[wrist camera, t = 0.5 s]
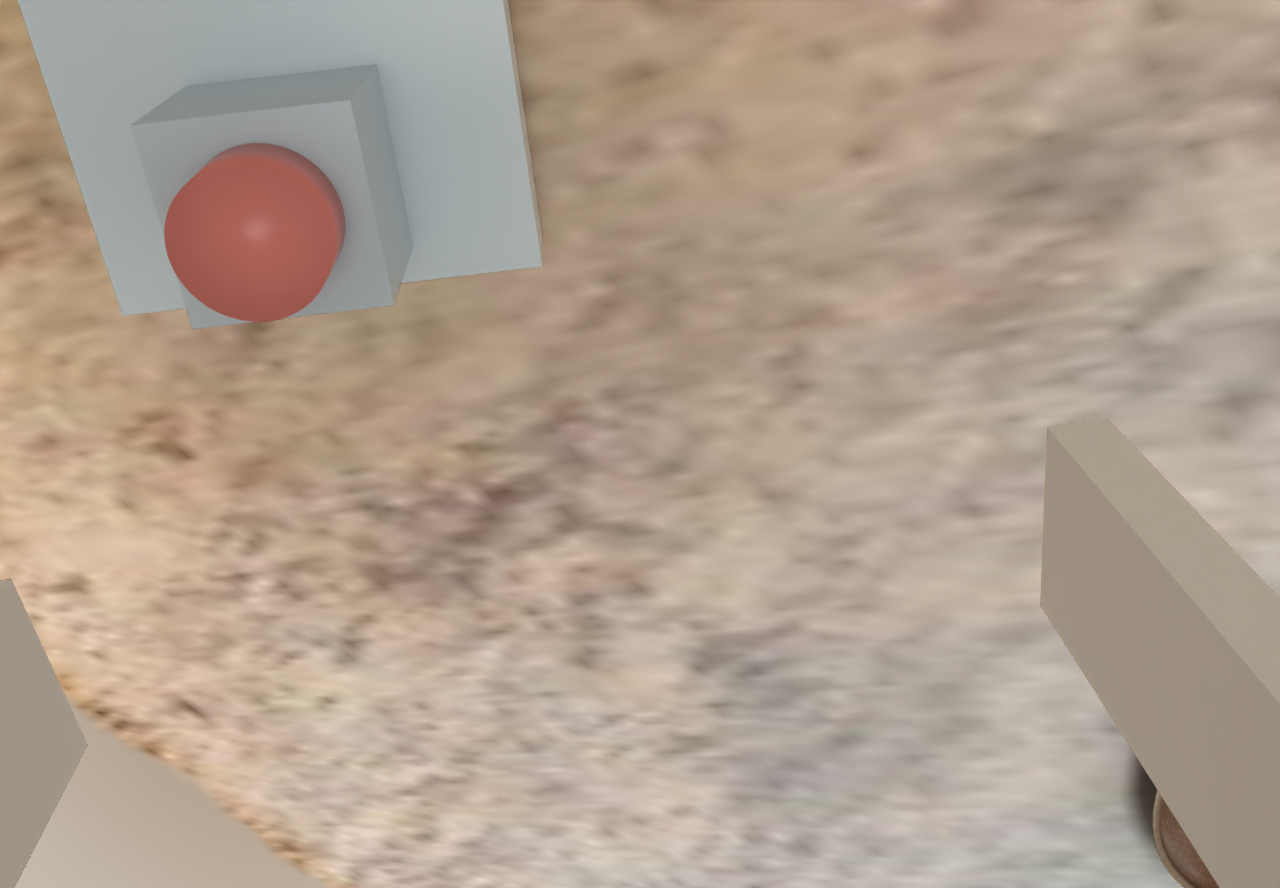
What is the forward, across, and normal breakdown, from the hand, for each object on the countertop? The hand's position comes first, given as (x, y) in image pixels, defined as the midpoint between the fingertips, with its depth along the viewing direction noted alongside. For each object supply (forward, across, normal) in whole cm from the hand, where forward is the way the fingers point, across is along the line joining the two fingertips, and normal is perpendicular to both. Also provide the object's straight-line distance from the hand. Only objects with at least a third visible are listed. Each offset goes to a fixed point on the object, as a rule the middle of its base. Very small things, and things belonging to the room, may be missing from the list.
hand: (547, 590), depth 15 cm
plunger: (+15, -7, +1) cm, 16 cm away
